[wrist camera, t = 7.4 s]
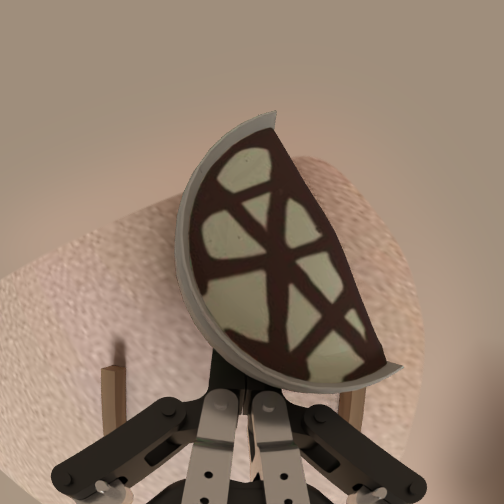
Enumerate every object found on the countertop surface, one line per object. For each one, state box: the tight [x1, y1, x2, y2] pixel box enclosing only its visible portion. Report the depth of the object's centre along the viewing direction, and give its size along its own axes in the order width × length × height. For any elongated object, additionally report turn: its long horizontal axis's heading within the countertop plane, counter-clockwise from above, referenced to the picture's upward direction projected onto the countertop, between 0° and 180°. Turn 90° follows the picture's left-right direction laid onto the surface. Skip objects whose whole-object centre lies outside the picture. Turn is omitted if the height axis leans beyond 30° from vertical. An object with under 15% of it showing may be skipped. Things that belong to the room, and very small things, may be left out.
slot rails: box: [101, 365, 366, 436], centre depth 15 cm, size 17×7×2 cm, turn 87°
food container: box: [174, 111, 404, 394], centre depth 14 cm, size 12×6×10 cm, turn 23°
